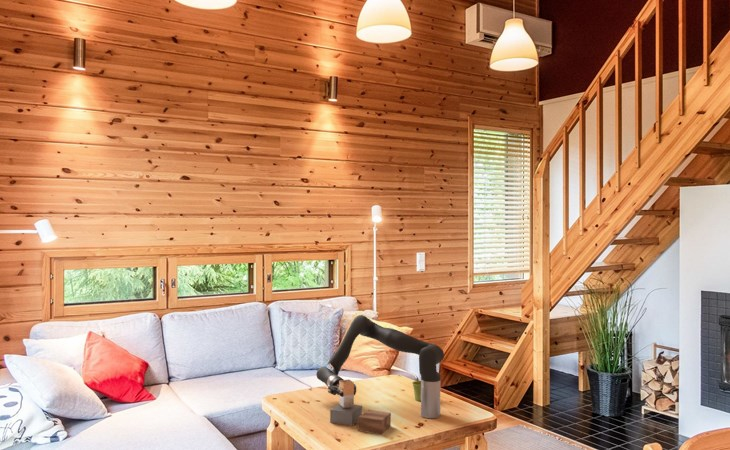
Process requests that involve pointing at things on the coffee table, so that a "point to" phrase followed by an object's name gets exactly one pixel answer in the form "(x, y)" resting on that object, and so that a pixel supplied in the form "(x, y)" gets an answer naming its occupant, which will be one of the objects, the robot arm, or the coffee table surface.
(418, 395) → the plant pot
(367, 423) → the stand
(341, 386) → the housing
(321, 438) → the coffee table surface
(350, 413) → the stand
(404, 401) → the coffee table surface
